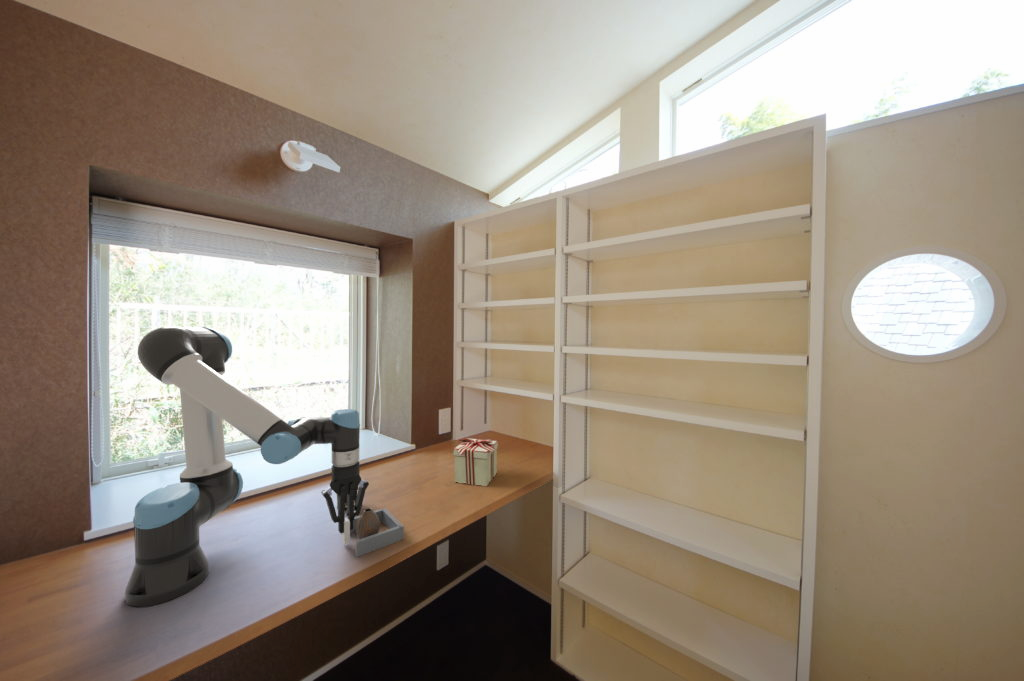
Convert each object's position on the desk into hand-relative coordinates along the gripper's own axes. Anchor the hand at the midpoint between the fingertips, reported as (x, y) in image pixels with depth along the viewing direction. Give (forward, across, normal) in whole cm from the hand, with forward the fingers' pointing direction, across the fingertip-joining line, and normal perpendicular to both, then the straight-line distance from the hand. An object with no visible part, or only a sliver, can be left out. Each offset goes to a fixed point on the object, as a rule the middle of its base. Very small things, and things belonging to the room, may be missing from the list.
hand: (345, 541), depth 107 cm
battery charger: (+1, +8, +24) cm, 25 cm away
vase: (+1, +6, 0) cm, 7 cm away
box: (+1, +7, 0) cm, 7 cm away
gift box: (+1, +57, +14) cm, 59 cm away
